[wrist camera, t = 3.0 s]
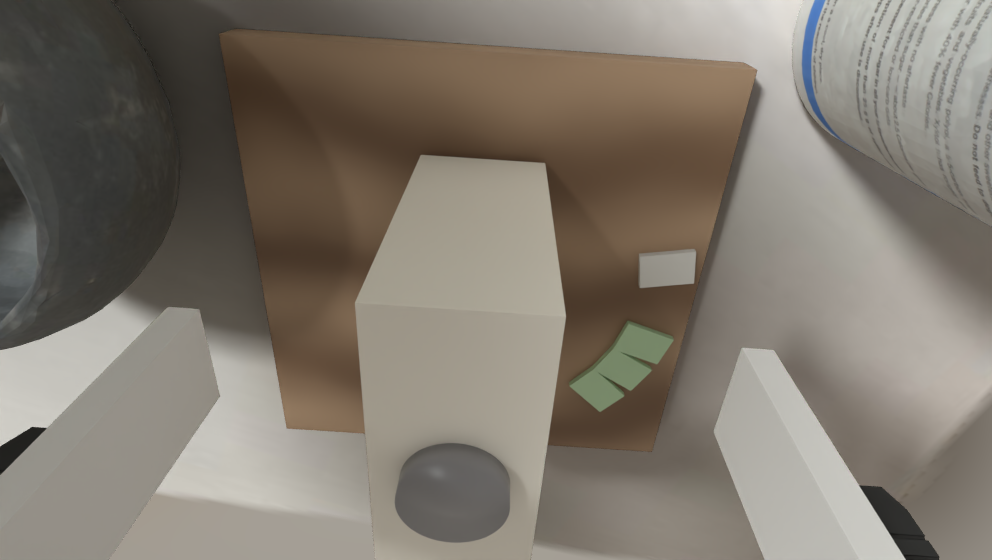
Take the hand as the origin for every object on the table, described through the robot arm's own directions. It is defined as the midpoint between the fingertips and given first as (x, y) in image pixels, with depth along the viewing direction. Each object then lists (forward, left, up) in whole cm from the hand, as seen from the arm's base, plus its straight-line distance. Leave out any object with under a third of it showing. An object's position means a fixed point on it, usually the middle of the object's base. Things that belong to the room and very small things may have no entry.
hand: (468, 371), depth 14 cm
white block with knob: (+6, 0, -11) cm, 13 cm away
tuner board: (+4, 0, -13) cm, 14 cm away
